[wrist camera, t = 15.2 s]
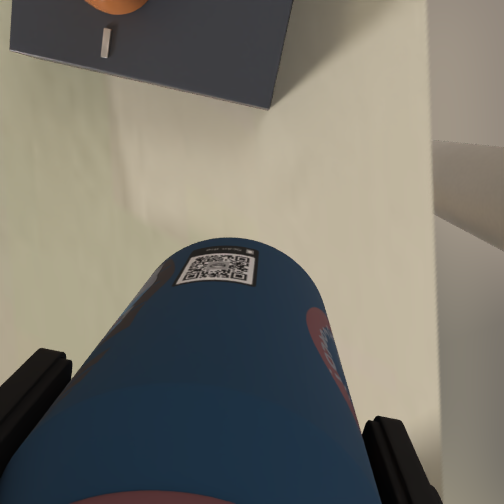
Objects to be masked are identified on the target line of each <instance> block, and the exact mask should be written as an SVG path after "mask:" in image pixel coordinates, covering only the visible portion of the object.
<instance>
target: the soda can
mask: <svg viewBox="0 0 504 504" xmlns="http://www.w3.org/2000/svg"><path fill="white" fill-rule="evenodd" d="M0 504H382V503H381V499H380V496H379V493H378V489H377V486H376V482H375V479H374V475H373V472H372V468H371V465H370V462H369V458H368V455H367V451H366V448H365V444H364V441H363V438H362V434H361V431H360V427H359V424H358V420H357V417H356V413H355V410H354V407H353V403H352V400H351V396H350V393H349V389H348V386H347V382H346V379H345V376H344V372H343V369H342V365H341V362H340V358H339V355H338V352H337V348H336V345H335V341H334V338H333V334H332V331H331V327H330V324H329V321H328V317H327V314H326V310H325V307H324V304H323V301H322V298H321V296H320V293H319V291H318V289H317V287H316V286H315V284H314V282H313V281H312V279H311V278H310V277H309V275H308V274H307V273H306V272H305V271H304V270H303V269H302V267H301V266H300V265H298V264H297V263H296V262H295V261H294V260H293V259H291V258H290V257H289V256H287V255H286V254H284V253H283V252H281V251H279V250H277V249H275V248H273V247H271V246H269V245H266V244H263V243H261V242H257V241H254V240H249V239H243V238H215V239H209V240H205V241H201V242H198V243H195V244H192V245H190V246H187V247H185V248H183V249H181V250H180V251H178V252H176V253H175V254H173V255H172V256H170V257H169V258H168V259H166V260H165V261H164V262H163V263H162V264H161V265H160V266H159V267H158V268H157V269H156V270H155V272H154V273H153V274H152V275H151V277H150V278H149V279H148V281H147V282H146V283H145V285H144V286H143V287H142V288H141V290H140V291H139V292H138V294H137V295H136V296H135V298H134V299H133V300H132V301H131V303H130V304H129V305H128V307H127V308H126V309H125V311H124V312H123V313H122V314H121V316H120V317H119V318H118V320H117V321H116V322H115V324H114V325H113V326H112V327H111V329H110V330H109V331H108V333H107V334H106V335H105V337H104V338H103V339H102V340H101V342H100V343H99V344H98V346H97V347H96V348H95V350H94V351H93V352H92V353H91V355H90V356H89V357H88V359H87V360H86V361H85V363H84V364H83V365H82V366H81V368H80V369H79V370H78V372H77V373H76V374H75V376H74V377H73V378H72V379H71V381H70V382H69V383H68V385H67V386H66V387H65V389H64V390H63V391H62V392H61V394H60V395H59V396H58V398H57V399H56V400H55V402H54V403H53V404H52V405H51V407H50V408H49V409H48V411H47V412H46V413H45V415H44V416H43V417H42V418H41V420H40V421H39V422H38V424H37V425H36V426H35V428H34V429H33V430H32V431H31V433H30V434H29V435H28V437H27V438H26V439H25V441H24V442H23V443H22V444H21V446H20V447H19V448H18V450H17V451H16V452H15V454H14V455H13V456H12V458H11V460H10V461H9V463H8V464H7V466H6V468H5V470H4V472H3V474H2V476H1V478H0Z"/></svg>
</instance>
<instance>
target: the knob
mask: <svg viewBox="0 0 504 504" xmlns="http://www.w3.org/2000/svg"><path fill="white" fill-rule="evenodd" d="M85 1H86V2H88V3H89V4H90V5H92V6H93V7H95V8H97V9H98V10H100V11H102V12H105V13H108V14H114V15H122V14H127V13H131V12H133V11H136V10H137V9H139V8H140V7H142V6H143V5H144V4H145V3H146V2H147V1H148V0H85Z"/></svg>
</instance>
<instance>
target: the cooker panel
mask: <svg viewBox="0 0 504 504" xmlns="http://www.w3.org/2000/svg"><path fill="white" fill-rule="evenodd" d="M292 4H293V0H148V1H147V2H146V3H145V4H144V5H143V6H142V7H140V8H139V9H137V10H136V11H133V12H131V13H127V14H122V15H114V14H108V13H105V12H102V11H100V10H98V9H97V8H95V7H93V6H92V5H90V4H89V3H88V2H86V1H85V0H12V15H11V32H10V51H13V52H16V53H20V54H23V55H27V56H30V57H34V58H37V59H41V60H46V61H50V62H55V63H59V64H64V65H68V66H73V67H77V68H81V69H86V70H90V71H95V72H99V73H104V74H108V75H112V76H117V77H121V78H126V79H130V80H135V81H139V82H144V83H148V84H152V85H157V86H161V87H166V88H170V89H175V90H179V91H184V92H188V93H192V94H197V95H201V96H206V97H210V98H215V99H219V100H223V101H228V102H232V103H237V104H241V105H246V106H250V107H255V108H259V109H263V110H269V109H270V106H271V101H272V97H273V92H274V87H275V83H276V78H277V74H278V69H279V64H280V60H281V55H282V50H283V46H284V41H285V36H286V32H287V27H288V22H289V18H290V13H291V9H292Z"/></svg>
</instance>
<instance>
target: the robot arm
mask: <svg viewBox="0 0 504 504" xmlns="http://www.w3.org/2000/svg"><path fill="white" fill-rule="evenodd" d="M71 374H72V361H71V360H67V359H66V354H65V353H64V352H59V351H54V350H49V349H44V348H40V349H38V350H37V351H36V352H35V353H34V354H33V355H32V356H31V357H30V358H29V359H28V360H27V361H26V362H25V363H24V364H23V365H22V366H21V367H20V368H19V369H18V370H17V371H16V372H15V373H14V374H13V375H12V376H11V377H10V378H9V379H7V380H6V381H5V382H4V383H3V384H2V385H1V386H0V478H1V476H2V474H3V472H4V470H5V468H6V466H7V464H8V463H9V461H10V460H11V458H12V456H13V455H14V454H15V452H16V451H17V450H18V448H19V447H20V446H21V444H22V443H23V442H24V441H25V439H26V438H27V437H28V435H29V434H30V433H31V431H32V430H33V429H34V428H35V426H36V425H37V424H38V422H39V421H40V420H41V418H42V417H43V416H44V415H45V413H46V412H47V411H48V409H49V408H50V407H51V405H52V404H53V403H54V402H55V400H56V399H57V398H58V396H59V395H60V394H61V392H62V391H63V390H64V389H65V387H66V386H67V385H68V383H69V382H70V381H71ZM362 438H363V441H364V444H365V448H366V451H367V455H368V458H369V462H370V465H371V468H372V472H373V475H374V479H375V482H376V486H377V489H378V493H379V496H380V499H381V503H382V504H443V503H442V501H441V498H440V496H439V494H438V492H437V491H436V489H435V488H434V487H433V486H432V485H430V483H429V481H428V479H427V476H426V474H425V472H424V470H423V467H422V465H421V463H420V461H419V458H418V456H417V454H416V452H415V449H414V447H413V445H412V443H411V440H410V438H409V436H408V434H407V431H406V429H405V427H404V425H403V423H402V421H400V420H397V419H392V418H387V417H382V416H376V417H375V419H374V421H371V420H368V421H367V422H366V425H365V427H364V430H363V433H362Z"/></svg>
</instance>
